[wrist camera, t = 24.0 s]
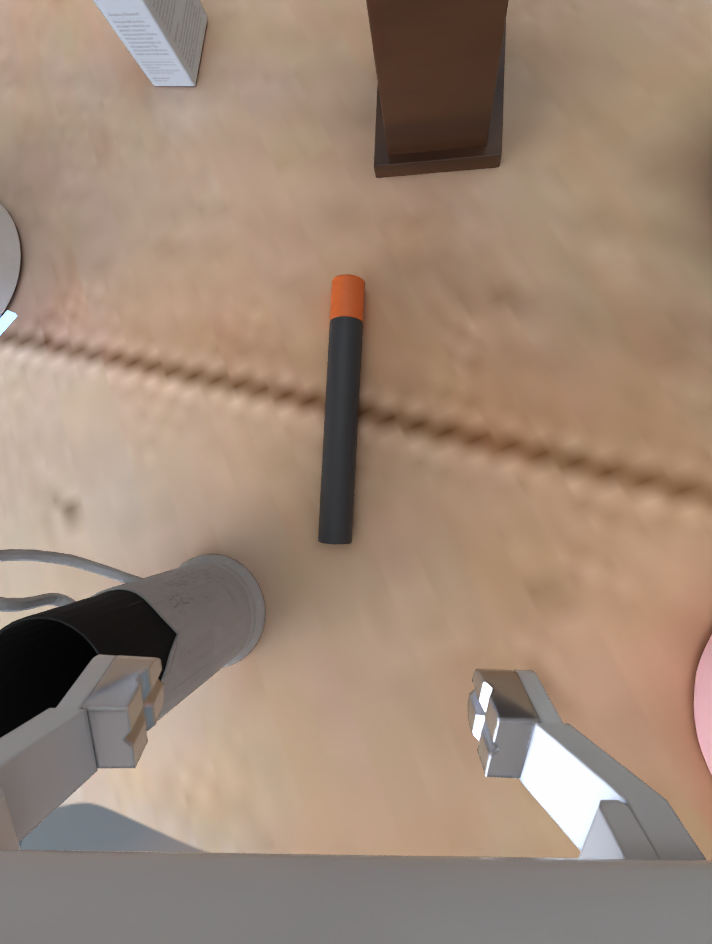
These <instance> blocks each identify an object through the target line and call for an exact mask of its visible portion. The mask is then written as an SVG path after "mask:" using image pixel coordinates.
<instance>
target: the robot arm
mask: <svg viewBox="0 0 712 944" xmlns="http://www.w3.org/2000/svg"><path fill="white" fill-rule="evenodd" d="M20 261H21V251H20V242H19V237H18V233H17V229H16V227H15V224H14V222H13V220H12V218H11V216H10V215H9V213H8V212H7V210H6V209H5V208H4V207H3V206H2V204H1V203H0V316H1V315H2V313H3V312H4V310H5V309H6V307H7V305H8V304H9V302H10V300H11V297H12V295H13V293H14V290H15V287H16V284H17V280H18V276H19V271H20ZM16 317H17V315H16V314H15V313H13V312H11V311H8V310H7V311H6V312H5V314H4V315H3V316H2V317H1V318H0V335H1V334H2V333H3V332H4V330H5V329H6V328H7V327H8V326H9V325H10V324H11V323H12V321H13V320H14V319H15V318H16ZM161 671H162V665H161V659H159V658H155V657H139V656H122V655H119V656H114V655H100V654H99V655H97V656H95V657H94V658H93V659H92V660H91V661H90V662H89V664H88V665H87V666H86V668H85V669H84V671H83V672H82V673H81V675H80V676H79V677H78V679H77V680H76V681H75V683H74V684H73V685H72V687H71V688H70V689H69V691H68V692H67V694H66V695H65V696H64V698H63V699H62V700H61V702H60V703H59V704H58V706H57V707H56V708H49V709H47V710H45V711H44V712H42V713H40V714H39V715H37V716H35V717H34V718H32V719H31V720H29V721H27V722H26V723H24V724H22V725H21V726H19V727H17V728H16V729H14V730H13V731H11V732H9V733H8V734H6V735H4V736H3V737H1V738H0V944H712V860H706V858H705V857H704V855H703V854H702V852H701V851H700V849H699V848H698V846H697V845H696V843H695V842H694V840H693V839H692V837H691V836H690V834H689V833H688V831H687V830H686V828H685V827H684V825H683V824H682V822H681V821H680V819H679V818H678V816H677V815H676V813H675V812H674V810H673V809H672V807H671V806H670V804H669V803H668V801H667V800H666V799H665V798H663V797H662V796H661V795H660V794H658V793H657V792H656V791H655V790H653V789H652V788H651V787H649V786H648V785H647V784H646V783H644V782H643V781H642V780H640V779H639V778H638V777H637V776H635V775H634V774H633V773H631V772H630V771H629V770H628V769H626V768H625V767H624V766H623V765H621V764H620V763H619V762H617V761H616V760H615V759H614V758H612V757H611V756H610V755H608V754H607V753H606V752H605V751H603V750H602V749H601V748H599V747H598V746H597V745H596V744H594V743H593V742H592V741H591V740H589V739H588V738H587V737H585V736H584V735H583V734H582V733H580V732H579V731H578V730H576V729H575V728H574V727H573V726H571V725H570V724H565V723H563V722H562V720H561V718H560V716H559V715H558V713H557V711H556V709H555V707H554V705H553V704H552V702H551V700H550V698H549V696H548V694H547V693H546V691H545V689H544V687H543V685H542V684H541V682H540V680H539V678H538V676H537V674H536V673H535V672H534V671H533V670H496V669H476V670H475V672H474V674H473V678H472V682H473V685H474V688H475V689H474V690H473V691H472V692H471V693H470V694H469V699H468V719H469V725H470V728H471V731H472V734H473V735H474V736H475V737H476V738H477V739H478V740H479V745H478V749H477V751H478V754H479V757H480V761H481V764H482V767H483V770H484V773H485V776H486V777H504V778H520V781H521V782H522V783H523V785H524V786H525V787H526V788H527V789H528V790H529V792H530V793H531V794H532V795H533V796H534V797H535V799H536V800H537V801H538V802H539V803H540V804H541V806H542V807H543V808H544V809H545V810H546V811H547V812H548V814H549V815H550V816H551V817H552V818H553V819H554V821H555V822H556V823H557V824H558V825H559V826H560V828H561V829H562V830H563V831H564V832H565V833H566V835H567V836H568V837H569V838H570V839H571V840H572V841H573V843H574V844H575V845H576V846H577V847H578V848H579V850H580V851H581V853H580V855H579V858H528V857H462V856H386V855H319V854H257V853H192V852H126V851H124V852H122V851H58V850H21V849H20V846H19V842H20V841H21V840H22V839H24V838H25V837H26V836H27V835H28V834H29V833H30V832H31V831H32V830H33V829H34V828H36V827H37V826H38V825H39V824H40V823H41V822H42V821H43V820H44V819H45V818H46V817H47V816H49V815H50V814H51V813H52V812H53V811H54V810H55V809H56V808H57V807H58V806H59V805H60V804H62V803H63V802H64V801H65V800H66V799H67V798H68V797H69V796H70V795H71V794H72V793H74V792H75V791H76V790H77V789H78V788H79V787H80V786H81V785H82V784H83V783H84V782H85V781H87V780H88V779H89V778H90V777H91V776H92V775H93V774H94V773H95V772H96V771H97V768H135V767H136V765H137V763H138V761H139V759H140V757H141V755H142V752H143V750H144V748H145V746H146V744H147V742H148V740H147V731H148V730H149V729H150V728H152V727H153V726H154V725H155V724H156V722H157V720H158V718H159V715H160V713H161V709H162V705H163V701H164V683H163V682H162V681H161V680H160V679H159V678H158V677H159V675H160V673H161Z"/></svg>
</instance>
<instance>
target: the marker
mask: <svg viewBox="0 0 712 944" xmlns="http://www.w3.org/2000/svg"><path fill="white" fill-rule="evenodd" d="M364 289H365V282H364V280H363V279H361V278H360V277H358V276H354V275H339V276H336V277H335V278H334V279H333V280H332V294H331V312H330V330H329V349H328V367H327V386H326V404H325V423H324V441H323V460H322V478H321V497H320V515H319V534H318V541H319V542H321V543H327V544H350V543H351V542H352V523H353V504H354V484H355V465H356V445H357V426H358V406H359V387H360V367H361V348H362V328H363V309H364Z"/></svg>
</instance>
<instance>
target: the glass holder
mask: <svg viewBox="0 0 712 944" xmlns="http://www.w3.org/2000/svg"><path fill="white" fill-rule="evenodd" d="M0 561H38V562H47V563H55V564H61V565H67V566H71V567H75V568H79V569H83V570H86V571H89V572H93V573H96V574H99V575H102V576H105V577H108V578H111V579H114V580H117V581H120V582H123V583H126V584H122V585H119V586H116V587H112V588H109V589H106V590H103V591H101V592H98V593H96V594H95V595H93V596H92V597H90V598H87V599H83V600H80V601H77V602H76V601H75V600H73V599H72V598H70V597H68V596H66V595H63V594H59V593H49V594H42V595H38V596H34V597H27V598H4V597H0V611H1V612H11V611H23V610H28V609H33V608H37V607H41V606H45V605H55V606H59V607H57V608H54V609H50V610H47V611H44V612H41V613H37V614H34V615H31V616H27V617H24V618H22V619H19V620H16V621H13V622H12V623H10V624H9V625H7V626H5V627H4V628H2V629H1V630H0V738H1V737H3V736H4V735H6V734H8V733H9V732H11V731H13V730H14V729H16V728H17V727H19V726H21V725H22V724H24V723H26V722H27V721H29V720H31V719H32V718H34V717H35V716H37V715H39V714H40V713H42V712H44V711H45V710H47V709H49V708H56V707H57V706H58V704H59V703H60V702H61V700H62V699H63V698H64V696H65V695H66V694H67V692H68V691H69V689H70V688H71V687H72V685H73V684H74V683H75V681H76V680H77V679H78V677H79V676H80V675H81V673H82V672H83V671H84V669H85V668H86V666H87V665H88V664H89V662H90V661H91V660H92V659H93V658H94V657H95V656H97V655H99V654H100V655H114V656H119V655H122V656H139V657H155V658H159V659H161V665H162V671H161V673H160V675H159V677H158V678H159V679H160V680H161V681H162V682H163V683H164V701H163V705H162V709H161V713H160V715H159V718H158V720H159V719H160V718H162V717H163V716H164V715H165V714H166V713H168V712H169V711H170V710H171V709H172V708H174V707H175V706H176V705H177V704H179V703H180V702H181V701H182V700H183V699H185V698H186V697H187V696H188V695H190V694H191V693H192V692H193V691H194V690H196V689H197V688H198V687H199V686H201V685H202V684H203V683H204V682H205V681H207V680H208V679H209V678H210V677H211V676H213V675H214V674H215V673H216V672H218V671H219V670H220V669H221V668H222V667H227V666H230V665H233V664H235V663H236V662H238V661H240V660H242V659H243V658H244V657H245V656H247V655H248V654H249V653H250V652H251V650H252V649H253V648H254V647H255V645H256V644H257V642H258V640H259V638H260V636H261V633H262V630H263V626H264V620H265V605H264V599H263V596H262V592H261V589H260V587H259V585H258V583H257V581H256V580H255V578H254V577H253V576H252V574H251V573H250V572H249V571H248V570H247V569H246V568H245V567H244V566H243V565H242V564H240V563H239V562H237V561H236V560H234V559H231V558H229V557H227V556H222V555H218V554H207V555H201V556H197V557H195V558H192V559H190V560H188V561H187V562H185V563H183V564H182V565H181V566H180V567H179V568H177V569H173V570H170V571H167V572H163V573H160V574H156V575H153V576H150V577H146V578H141V577H138V576H135V575H132V574H129V573H126V572H123V571H120V570H117V569H115V568H112V567H109V566H106V565H103V564H100V563H97V562H94V561H91V560H88V559H84V558H81V557H78V556H74V555H69V554H63V553H57V552H50V551H41V550H23V549H8V550H0ZM158 720H157V721H158Z"/></svg>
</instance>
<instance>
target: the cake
mask: <svg viewBox="0 0 712 944" xmlns="http://www.w3.org/2000/svg"><path fill="white" fill-rule="evenodd" d="M694 715H695V724H696V731H697V736H698V740H699V743H700V747H701V751H702V753H703V756H704V759H705V761H706V764H707V766H708V768H709V771H710V773H711V775H712V635H711V637H710V639H709V641H708V643H707V645H706V647H705V649H704V652H703V654H702V656H701V659H700V662H699V665H698V668H697V671H696V680H695V689H694Z"/></svg>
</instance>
